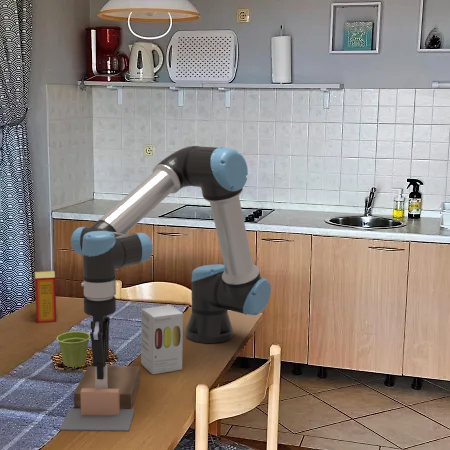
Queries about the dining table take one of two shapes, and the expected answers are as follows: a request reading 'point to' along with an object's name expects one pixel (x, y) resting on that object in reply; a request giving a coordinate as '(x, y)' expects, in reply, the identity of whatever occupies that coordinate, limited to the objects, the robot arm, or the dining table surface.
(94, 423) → the mat
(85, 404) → the tile
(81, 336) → the plant pot
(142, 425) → the dining table surface
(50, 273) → the baking soda box
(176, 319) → the supplement box
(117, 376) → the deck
